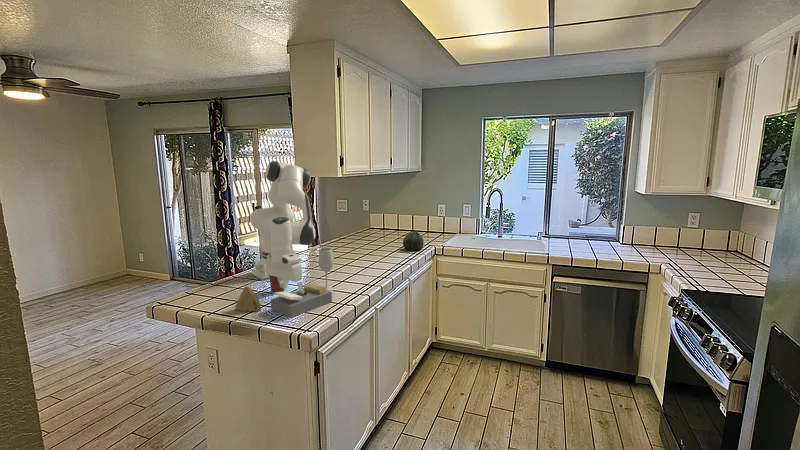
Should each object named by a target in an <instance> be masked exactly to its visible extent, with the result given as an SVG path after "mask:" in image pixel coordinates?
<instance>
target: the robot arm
mask: <svg viewBox="0 0 800 450" xmlns="http://www.w3.org/2000/svg"><path fill="white" fill-rule="evenodd" d="M311 176H312V175H311V172H310V170H309V169H307V168H305V167H301V166H298V165H295V164H291V163H286V162H279V161H277V160H271V161H270V162H269V163H267V166H266V168H265V178H266V179H267V180H268V181H270V182H271V185H270V188H269V192H268V195H267V197H268V200H269V202H270V203H271V204H272V205H273V206H271V207H265V208H259V209H256V210H253V211H251V213H250V215H249V222H250V224H251V226H252V227H253V228H255V229H256V230H257V231H258V232H259V234H261V238H262V241H263V251H261V255H262V257H261V258H260V259H259V260H258V261H257V262H256V263H255V268H254V270H253V271H251V272H250V273H251V275H253V276H255V277H256V278H257V279H261V280H266V279H269V275H271V276H275V277H278V281H279V283H280V287H281V288H284V289H287V288H288V284H289V282H293V283H296V282H297V283H298V282H301V281H302V278H303V269H302V268H303V267H302V264H301V263H300V262H302V257H301V256H300V255H298V254H297V253H296V251H294V247H293V245H300V246H309V245H312V243H314V241H315V240H316V236H317V235H316V229H315V226H314V222H313V215H312V207H311V201H310V198H309V197H310V196H309V195H308V193H306V192H304V189H306V188H307V187H308V185H309V184H310V182H311V180H312V179H311ZM290 205H291V206H295V207H296V208H299V209H301V210H302V219H303V221H302V222H293V221H294V219H295V213H294V211H293V209H292V208H291V207H290Z"/></svg>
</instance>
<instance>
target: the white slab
mask: <svg viewBox="0 0 800 450" xmlns="http://www.w3.org/2000/svg"><path fill="white" fill-rule="evenodd" d="M274 296H277V297H279V296H280V297H283V298H287V299H290V300H296V299H302V296H299V295H296V294H292V293H291V292H288V291H285V292H275V294H274Z"/></svg>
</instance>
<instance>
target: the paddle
mask: <svg viewBox="0 0 800 450" xmlns="http://www.w3.org/2000/svg"><path fill="white" fill-rule="evenodd" d="M296 284H297V289H298V290H299V292H300V293H301V295H304V294H305V292H304V290H303V288H304V285H303V282H302V281H298V282H297V283H296Z"/></svg>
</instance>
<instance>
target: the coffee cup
mask: <svg viewBox="0 0 800 450" xmlns="http://www.w3.org/2000/svg"><path fill="white" fill-rule="evenodd" d="M268 279H269V286H270V292H271V294H274V295H275V292H286V291H285V289H286V288H285V289H284V288H281V287H280V283H279V281H278V277H275V276H271V275H269V278H268Z"/></svg>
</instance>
